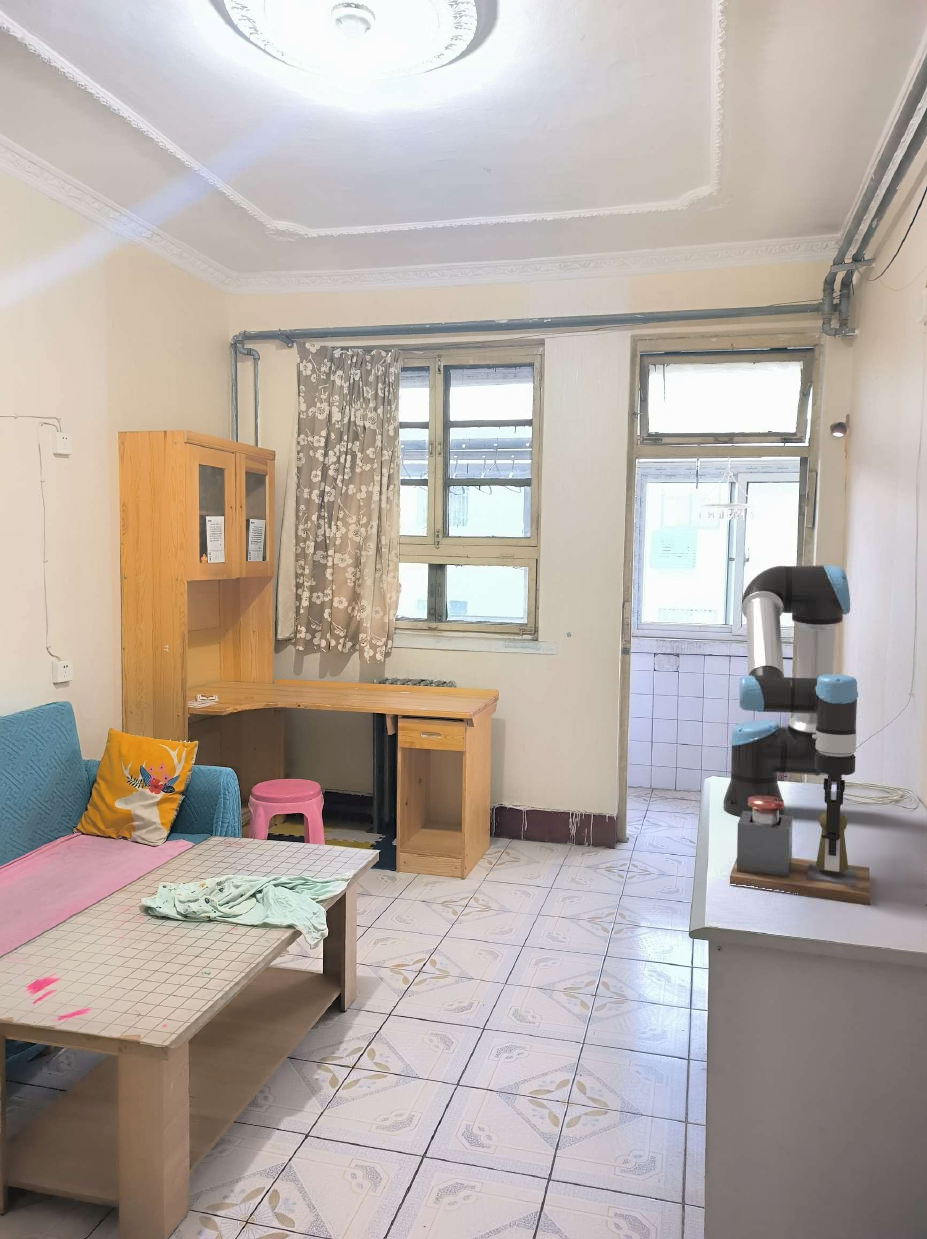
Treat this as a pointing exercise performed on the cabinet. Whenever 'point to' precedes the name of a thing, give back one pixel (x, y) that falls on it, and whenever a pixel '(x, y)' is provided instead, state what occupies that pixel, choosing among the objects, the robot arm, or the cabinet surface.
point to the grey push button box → (764, 846)
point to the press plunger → (765, 809)
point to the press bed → (813, 881)
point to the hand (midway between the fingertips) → (832, 864)
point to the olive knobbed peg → (843, 855)
